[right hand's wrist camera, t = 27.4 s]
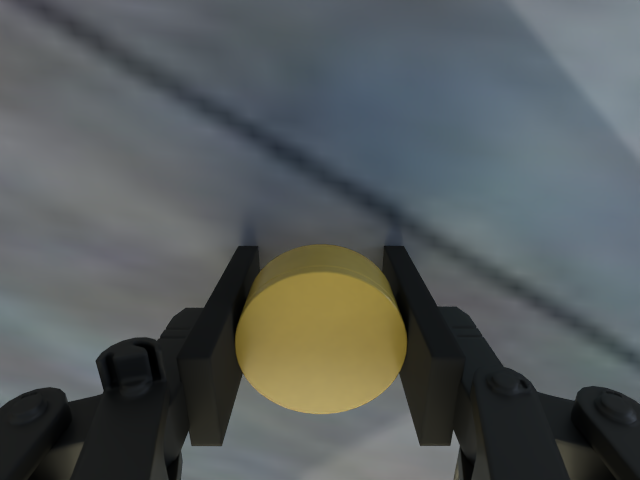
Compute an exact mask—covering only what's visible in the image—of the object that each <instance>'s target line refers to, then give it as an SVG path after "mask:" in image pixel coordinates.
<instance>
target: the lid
mask: <svg viewBox="0 0 640 480" xmlns="http://www.w3.org/2000/svg"><path fill="white" fill-rule="evenodd" d="M235 352H236V356H237V360H238V364H239V366H240V368H241V370H242V372H243V374H244V375H245V377H246V379H247V380H248V381H249V382H250V384H251V385H252V386H253V387H254V388H255V389H256V390H257V391H258V392H259V393H260V394H262V395H263V396H264V397H266V398H267V399H269V400H270V401H272V402H274V403H276V404H278V405H280V406H283V407H285V408H288V409H291V410H294V411H298V412H304V413H312V414H330V413H338V412H343V411H348V410H351V409H354V408H357V407H359V406H361V405H364V404H366V403H368V402H369V401H371V400H373V399H375V398H376V397H377V396H379V395H380V394H381V393H383V392H384V391H385V390H386V389H387V388H388V387H389V386H390V385H391V383H392V382H393V381H394V380H395V379H396V377H397V375H398V374H399V372H400V370H401V368H402V366H403V363H404V360H405V356H406V352H407V332H406V328H405V324H404V321H403V318H402V316H401V313H400V310H399V308H398V305H397V302H396V300H395V297H394V294H393V292H392V289H391V287H390V284H389V282H388V280H387V279H386V277H385V275H384V274H383V273H382V272H381V270H380V269H379V268H378V267H377V266H376V265H375V264H374V263H373V262H372V261H370V260H369V259H367V258H366V257H365V256H363V255H361V254H359V253H357V252H355V251H353V250H350V249H347V248H344V247H340V246H336V245H327V244H315V245H307V246H302V247H298V248H294V249H292V250H289V251H287V252H285V253H283V254H281V255H279V256H277V257H276V258H274V259H273V260H272V261H270V262H269V263H268V264H267V265H266V266H265V267H264V268H263V269H262V270H261V271H260V272H259V274H258V275H257V276H256V278H255V280H254V282H253V283H252V286H251V288H250V291H249V294H248V296H247V299H246V302H245V305H244V308H243V310H242V313H241V316H240V319H239V322H238V324H237V328H236V333H235Z"/></svg>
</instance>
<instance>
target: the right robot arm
mask: <svg viewBox="0 0 640 480" xmlns="http://www.w3.org/2000/svg"><path fill="white" fill-rule="evenodd" d="M259 272H260V269H259V254H258V246H238V248H237V250H236V252H235V253H234V255H233V257H232V259H231V261H230V262H229V264H228V266H227V268H226V270H225V271H224V273H223V275H222V277H221V278H220V280H219V282H218V284H217V286H216V287H215V289H214V291H213V293H212V294H211V296H210V298H209V300H208V302H207V303H206V305H205V307H204V308H185V309H184V310H182V311H181V312H180V313H178V314H177V315H175V316H174V317H173V318H172V320H171V321H170V323H169V324H168V326H167V327H166V330H164V332H163V333H162V334H161V336H160V339H158V340H157V341H156V340H155V339H151V338H147V337H143V338H132V339H128V340H124V341H121V342H119V343H117V344H115V345H112V346H110V347H109V348H108V349H106V350H105V351H104V352H102V353H101V354H100V356H99V357H98V358H97V360H96V364H97V368H98V371H99V375H100V379H101V382H102V386H103V389H104V392H103V394H101V395H97V396H93V397H89V398H84V399H80V400H76V401H71V402H68V401H67V398H66V395H65V393H64V392H63V391H62V390H60V389H57V388H51V387H48V388H41V389H36V390H33V391H30V392H27V393H24V394H22V395H20V396H18V397H16V398H14V399H12V400H10V401H9V402H7V403H6V404H5V405H4V406H2V407H1V408H0V480H181V472H182V462H183V461H182V454H181V448H182V446H183V443H184V441H185V438H186V436H187V433H188V431H189V434H190V439H191V445H192V446H222V443H223V440H224V436H225V433H226V429H227V426H228V423H229V419H230V416H231V412H232V409H233V405H234V402H235V398H236V395H237V391H238V388H239V384H240V381H241V377H242V374H243V372H242V370H241V368H240V366H239V364H238V360H237V356H236V352H235V333H236V328H237V324H238V322H239V319H240V316H241V313H242V310H243V308H244V305H245V302H246V299H247V296H248V294H249V291H250V288H251V286H252V283H253V282H254V280H255V278H256V276H257V275H258V274H259ZM382 273H383V274H384V275H385V277H386V279H387V280H388V282H389V284H390V287H391V289H392V292H393V294H394V297H395V300H396V302H397V305H398V308H399V310H400V313H401V316H402V318H403V321H404V324H405V328H406V332H407V352H406V356H405V360H404V363H403V366H402V368H401V370H400V372H399V374H400V377H401V381H402V384H403V388H404V391H405V395H406V398H407V402H408V405H409V409H410V412H411V416H412V419H413V423H414V426H415V430H416V433H417V437H418V440H419V443H420V446H450V444H451V439H452V433H453V429H454V432H455V434H456V437H457V439H458V442H459V444H460V448H459V454H458V459H457V464H456V469H455V474H454V480H640V404H639V403H637V402H636V401H635V400H633V399H631V398H629V397H627V396H625V395H624V394H622V393H619V392H617V391H614V390H611V389H608V388H603V387H596V386H591V387H584V388H582V389H581V390H580V391H579V392H578V393H577V396H576V399H575V401H572V400H568V399H563V398H559V397H555V396H550V395H546V394H543V393H539V392H537V391H536V389H535V388H534V386H533V385H532V383H531V382H530V381H529V380H528V379H527V378H525V377H524V376H523V375H522V374H520V373H518V372H516V371H514V370H512V369H509V368H506V367H503V365H502V364H501V362H500V361H499V359H498V358H497V356H496V355H495V353H494V352H493V350H492V349H491V347H490V346H489V344H488V343H487V342H486V340H485V339H484V337H482V334H481V333H480V331H479V330H478V328H476V325H475V324H474V322H473V321H472V319H471V318H470V317H469V315H467V314H466V313H464V312H463V311H462V310H460V309H459V308H457V307H437V305H436V303H435V301H434V299H433V298H432V296H431V294H430V292H429V291H428V289H427V287H426V285H425V283H424V282H423V280H422V278H421V276H420V274H419V273H418V271H417V269H416V267H415V266H414V264H413V262H412V260H411V258H410V257H409V255H408V253H407V251H406V249H405V248H404V246H384V257H383V272H382Z"/></svg>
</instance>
